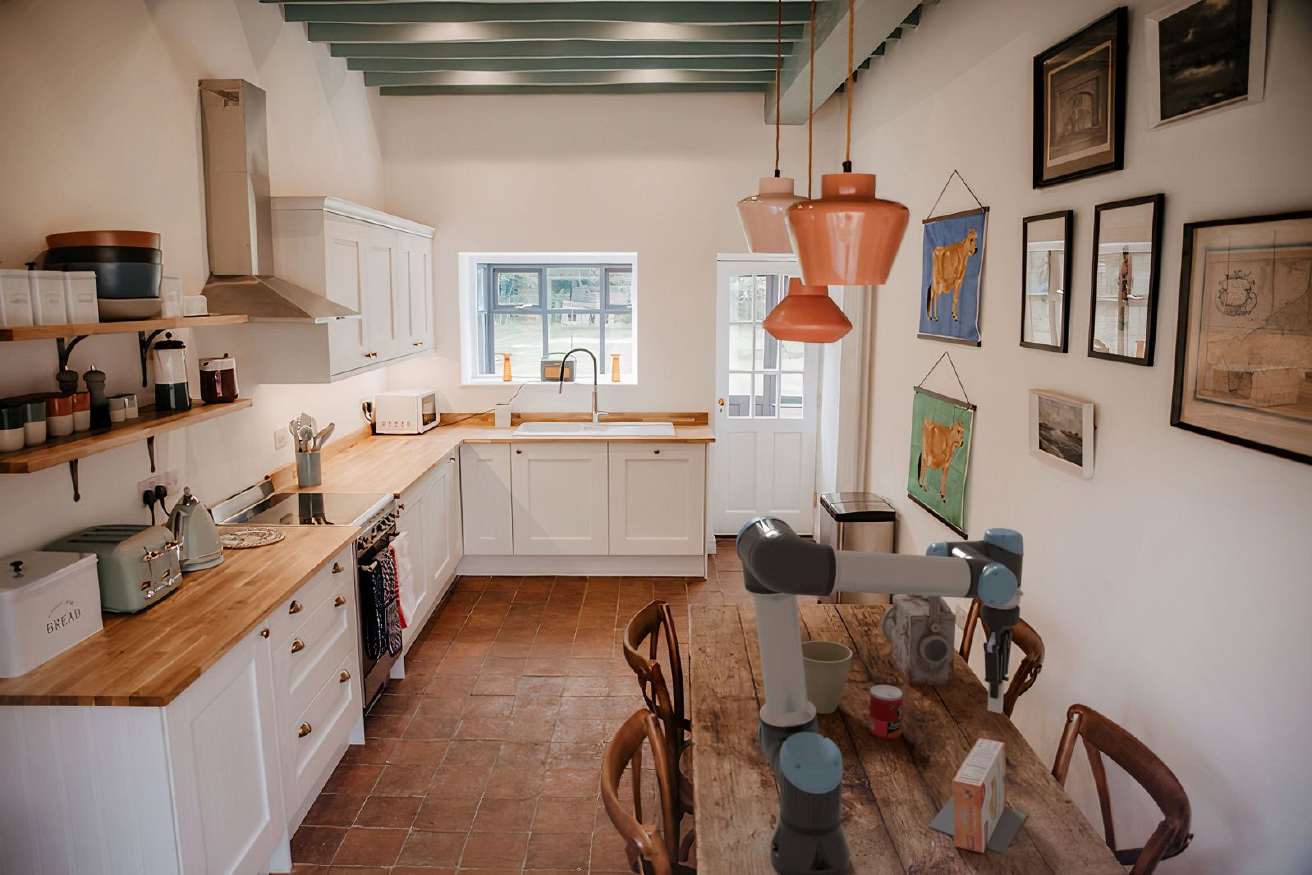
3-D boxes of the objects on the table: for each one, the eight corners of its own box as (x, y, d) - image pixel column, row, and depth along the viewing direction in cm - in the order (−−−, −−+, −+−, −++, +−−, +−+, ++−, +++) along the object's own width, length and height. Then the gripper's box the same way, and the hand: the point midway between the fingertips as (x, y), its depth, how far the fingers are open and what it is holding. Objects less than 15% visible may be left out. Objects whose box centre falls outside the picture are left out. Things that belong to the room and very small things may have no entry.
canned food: (892, 743, 215) (893, 700, 213) (863, 732, 220) (864, 691, 219) (907, 731, 220) (908, 690, 219) (878, 722, 226) (879, 681, 224)
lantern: (928, 651, 271) (931, 557, 266) (961, 689, 244) (965, 585, 240) (877, 652, 270) (880, 558, 266) (905, 690, 244) (908, 587, 239)
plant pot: (852, 722, 226) (853, 663, 223) (793, 718, 228) (794, 660, 226) (849, 697, 240) (851, 641, 238) (794, 693, 243) (795, 638, 240)
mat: (1003, 854, 171) (1003, 852, 171) (928, 827, 180) (928, 825, 180) (1027, 815, 184) (1027, 814, 184) (956, 791, 193) (956, 790, 193)
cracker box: (1009, 804, 187) (983, 855, 170) (980, 797, 191) (952, 846, 174) (1007, 741, 185) (981, 787, 168) (978, 735, 189) (950, 780, 172)
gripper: (1010, 615, 174) (1004, 727, 178) (1028, 598, 185) (1022, 704, 188) (972, 608, 179) (966, 717, 183) (991, 591, 189) (986, 694, 193)
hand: (995, 710), depth 185 cm, fingers closed
